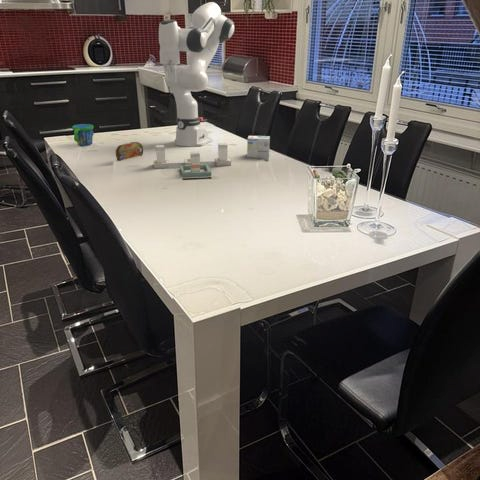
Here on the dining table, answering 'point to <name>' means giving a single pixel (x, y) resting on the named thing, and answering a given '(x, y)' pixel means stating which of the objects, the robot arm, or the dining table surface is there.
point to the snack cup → (83, 134)
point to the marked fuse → (195, 161)
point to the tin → (129, 150)
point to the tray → (190, 174)
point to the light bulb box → (258, 147)
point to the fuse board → (188, 162)
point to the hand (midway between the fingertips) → (171, 91)
